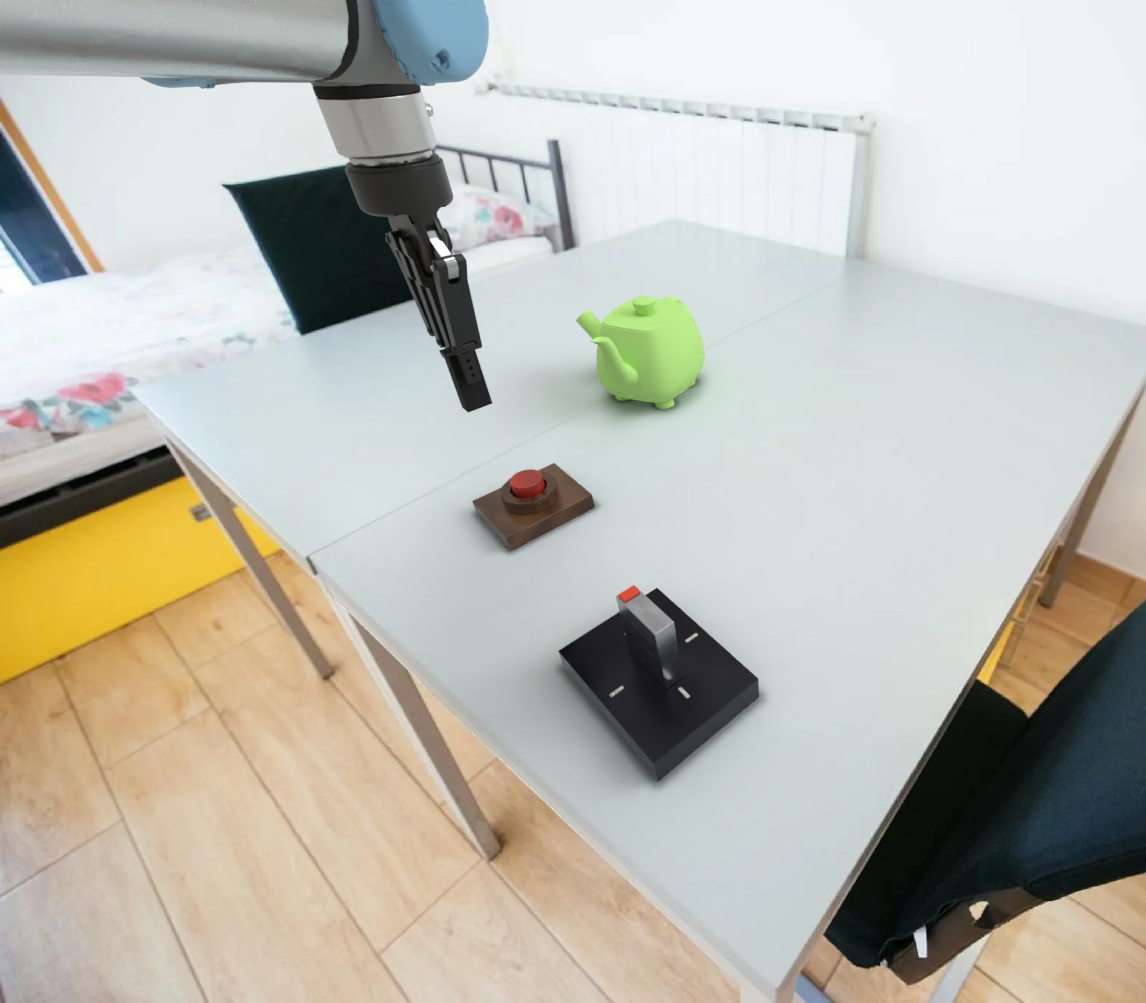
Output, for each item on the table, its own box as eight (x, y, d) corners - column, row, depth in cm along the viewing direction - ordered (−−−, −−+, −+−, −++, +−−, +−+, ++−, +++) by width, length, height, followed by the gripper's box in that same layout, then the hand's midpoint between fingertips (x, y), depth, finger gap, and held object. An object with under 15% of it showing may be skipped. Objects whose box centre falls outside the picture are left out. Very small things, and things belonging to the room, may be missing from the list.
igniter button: (522, 503, 78) (518, 492, 77) (507, 489, 80) (504, 478, 79) (550, 489, 80) (547, 478, 79) (535, 475, 82) (532, 465, 81)
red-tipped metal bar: (683, 677, 58) (673, 620, 53) (666, 690, 57) (654, 633, 52) (645, 639, 61) (633, 582, 56) (629, 651, 60) (615, 594, 55)
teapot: (622, 350, 118) (607, 266, 108) (724, 368, 112) (719, 280, 102) (540, 415, 101) (514, 322, 91) (655, 441, 94) (641, 343, 84)
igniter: (511, 551, 76) (502, 527, 74) (476, 513, 82) (467, 490, 79) (595, 507, 82) (589, 483, 80) (557, 475, 88) (551, 452, 86)
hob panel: (658, 781, 53) (653, 763, 51) (564, 669, 63) (557, 649, 61) (759, 697, 60) (758, 677, 58) (660, 605, 69) (656, 586, 67)
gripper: (468, 158, 49) (538, 414, 64) (409, 141, 57) (484, 373, 72) (370, 174, 46) (469, 443, 60) (320, 153, 53) (419, 396, 68)
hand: (477, 405), depth 66 cm, fingers closed
